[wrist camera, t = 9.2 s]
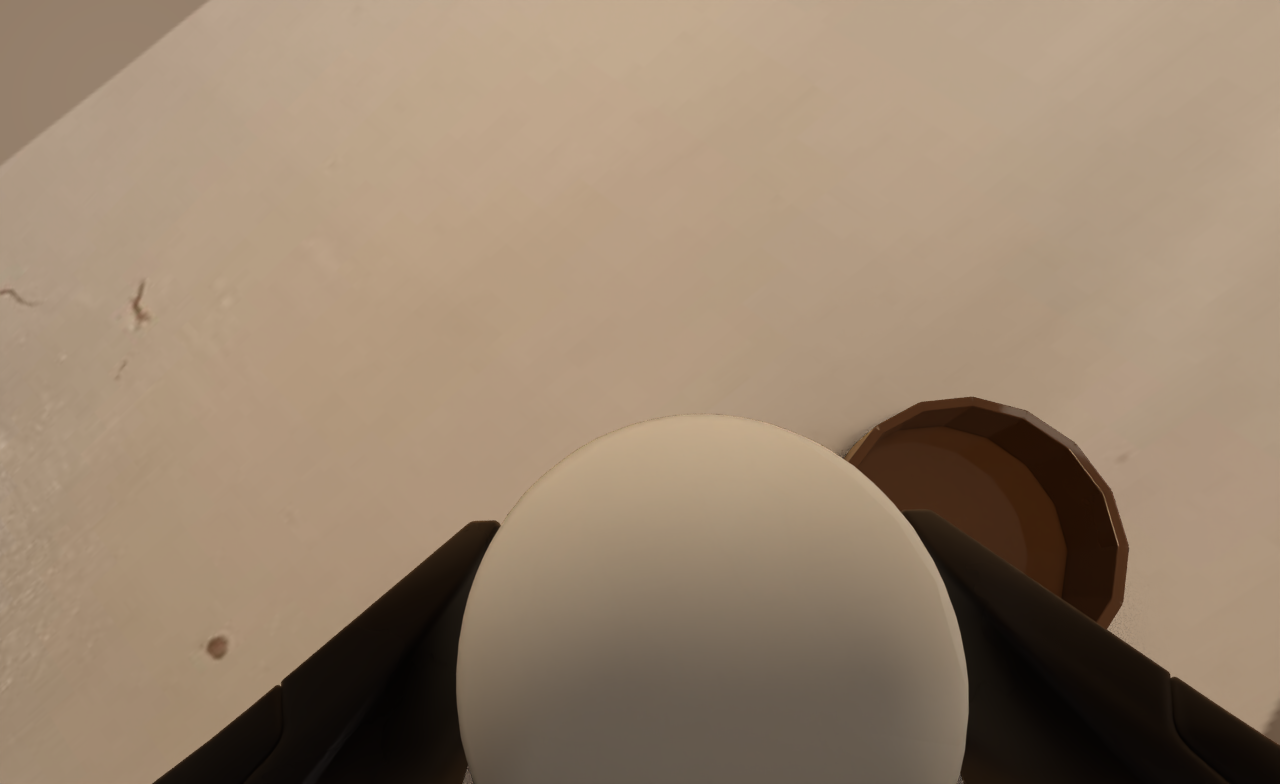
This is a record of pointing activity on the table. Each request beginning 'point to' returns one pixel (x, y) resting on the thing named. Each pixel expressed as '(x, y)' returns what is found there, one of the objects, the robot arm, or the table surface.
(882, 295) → the table surface
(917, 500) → the dock
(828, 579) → the pill bottle
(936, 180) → the table surface
